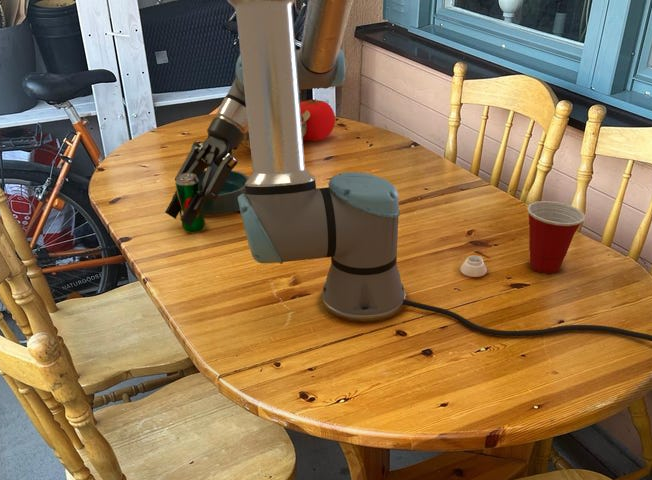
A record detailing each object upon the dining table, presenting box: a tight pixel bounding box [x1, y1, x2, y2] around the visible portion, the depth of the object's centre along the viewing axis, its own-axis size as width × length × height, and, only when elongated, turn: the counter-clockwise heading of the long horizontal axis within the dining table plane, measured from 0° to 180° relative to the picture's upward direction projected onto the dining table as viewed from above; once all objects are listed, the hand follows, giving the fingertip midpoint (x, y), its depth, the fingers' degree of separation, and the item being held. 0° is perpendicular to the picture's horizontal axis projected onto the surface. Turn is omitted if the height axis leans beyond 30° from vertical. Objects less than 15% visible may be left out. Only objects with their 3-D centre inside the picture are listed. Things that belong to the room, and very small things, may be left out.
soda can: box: [174, 173, 206, 233], centre depth 152 cm, size 5×5×12 cm
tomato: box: [300, 98, 336, 142], centre depth 201 cm, size 12×13×11 cm
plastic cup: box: [526, 200, 586, 274], centre depth 135 cm, size 11×11×12 cm
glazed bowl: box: [198, 169, 250, 216], centre depth 165 cm, size 17×17×5 cm
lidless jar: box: [459, 255, 488, 278], centre depth 136 cm, size 5×3×5 cm
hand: (177, 219), depth 151 cm, fingers closed on soda can, 5 cm apart
